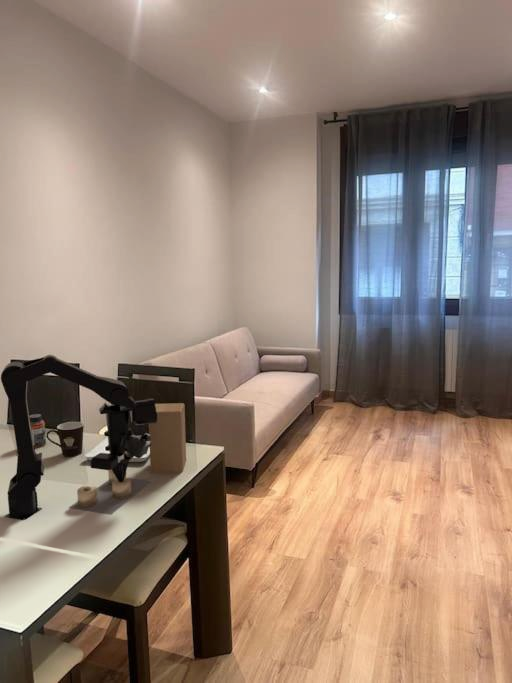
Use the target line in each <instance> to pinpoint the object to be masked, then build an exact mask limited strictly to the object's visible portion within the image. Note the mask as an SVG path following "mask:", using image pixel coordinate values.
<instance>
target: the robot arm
mask: <svg viewBox="0 0 512 683" xmlns="http://www.w3.org/2000/svg"><path fill="white" fill-rule="evenodd" d="M46 374H47V375H48V374H53V375H55V376H57V377H60V378H62V379H65V380H67V381H69V382H72V383H74V384H76V385H78V386H81V387H83V388H85V389H87V390H90V391H92V392H94V393H95V394H97V395H98V396H99V397H100V398H102V399H103V400H105V401H106V402H108V403H109V404H110V405H109V404H107V403H106V402H104V403H103V405H101V407H100V408H99V409H98V411H99V414H101V415H105V414H106V422H107V423H106V424H107V430H106V431H105V432H103V433H104V437H108V446H106V447H105V451H110V453H109V454H107V453H99V454H98V455H96V456H94V457H93V458H92V459H91V460H89V462H90V465H89V466H90V469H94V470H95V469H96V470H103V471H108V470H112V471H113V473H114V474H115V476H116V478H117V479H118V481H119V482H123V481H124V478H125V474H126V475H127V470H128V465H129V463H130V462H129V461H130V460H131V459H132V458H133V457H134V456H135V457H137V458H141V457H142V456H143V455H145V454H147V451H148V448H149V447H150V446H151V445H152V444H151V437H150V435H149V433H147V432H145V433H144V434H143V435H135V434H134V429H133V428H130V421H131V423H134V424H135V425H136V426H141V425H147V424H148V425H149V424H150V423H156V422H157V412H156V407H155V404H156V403H155V402H156V401H155V399H154V398H147V399H141V400H134V398H133V396H131V395H129V394H130V393H129V389H128V388H127V386H126V385H125V383H124V382H122V381H121V380H118V379H114V378H111V377H106V376H99V375H96V374H94V373H91V372H89V371H87V370H84V369H82V368H80V367H79V366H76V365H73V364H71V363H69V362H67V361H65V360H63V359H60V358H58V357H57V356H55V355H52V354H48V355H45V356H43V357H40V358H35V359H30V360H27V361H24V362H20V361H12V362H9V363H8V364H6V366H5V367H3V371H2V372H1V374H0V382H1V385H2V387H3V389H4V392H5V395H6V396H7V399H8V401H9V403H10V411H11V417H12V424H13V430H14V431H13V432H14V436H15V437H14V438H15V445H16V452H17V462H16V472H15V473H16V474H15V475H14V476H13V477H11V478H10V480H9V484H8V490H7V502H8V504H7V505H8V514H6V515H5V516H4V518H9V519H14V520H20V521H26V520H27V519H29V518H31V517H32V516H34V515H36V514H37V513H38V512H40V511H42V509H43V508H42V507H38V506H39V503H38V492H37V487H38V485H40V484H41V481H42V477H43V476H44V472H45V465H44V463H43V461H42V458H43V453H42V452H39V453H37V452H36V450H35V448H34V447H33V440H32V433H31V426H30V419H29V416H30V414H29V407H28V406H29V405H28V404H29V403H28V400H27V399H28V398H27V395H28V394H27V393H28V385H29V384H28V382H30V381H32V380H35V379H37V378H39V377H42V376H44V375H46ZM120 405H121V406H120ZM129 414H130V415H129ZM129 417H130V418H129ZM140 436H141V437H140Z"/></svg>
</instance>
